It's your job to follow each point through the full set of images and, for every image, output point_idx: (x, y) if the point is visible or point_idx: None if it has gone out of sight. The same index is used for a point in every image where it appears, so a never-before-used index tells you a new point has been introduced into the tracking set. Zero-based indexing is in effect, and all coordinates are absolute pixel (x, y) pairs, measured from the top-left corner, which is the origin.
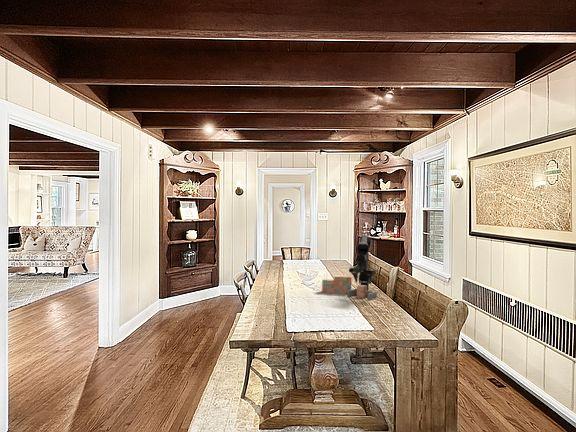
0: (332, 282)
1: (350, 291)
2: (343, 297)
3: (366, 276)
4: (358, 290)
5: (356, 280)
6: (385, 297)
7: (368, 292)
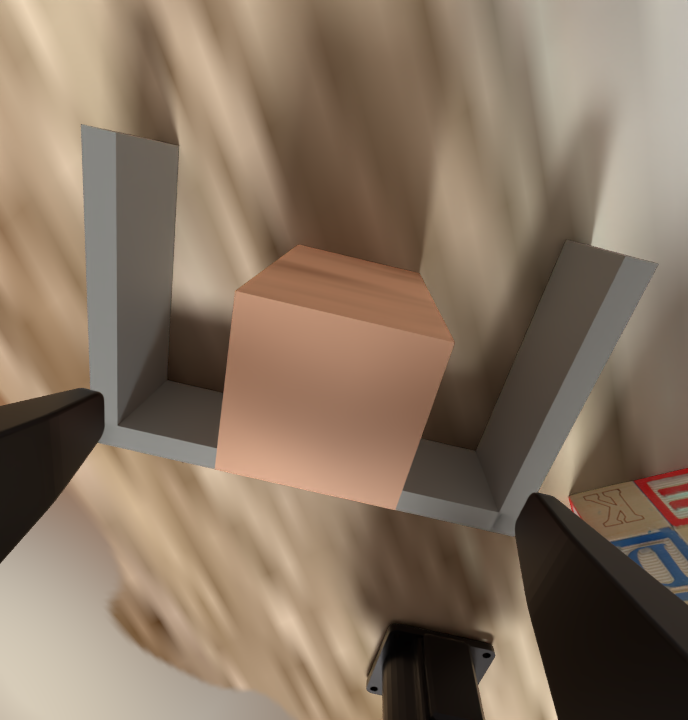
0: None
1: (582, 318)
2: (663, 83)
3: None
4: (393, 294)
5: (554, 560)
6: None
7: None
